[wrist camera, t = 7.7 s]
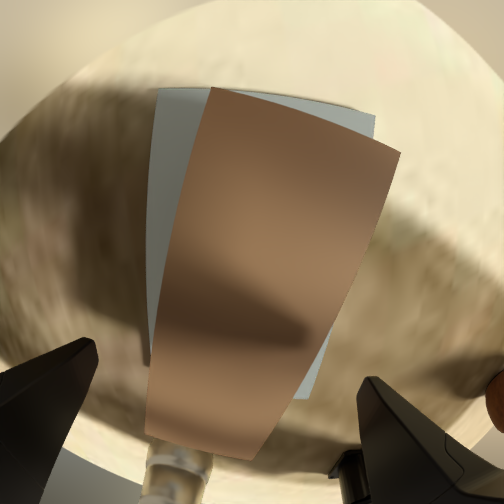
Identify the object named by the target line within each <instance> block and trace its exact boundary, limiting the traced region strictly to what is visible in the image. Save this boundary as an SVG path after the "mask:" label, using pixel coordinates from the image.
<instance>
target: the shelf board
mask: <svg viewBox="0 0 504 504" xmlns="http://www.w3.org/2000/svg"><path fill="white" fill-rule="evenodd" d="M400 154H401V152H399V151H397V150H395V149H393V148H391V147H389V146H387V145H385V144H383V143H380V142H378V141H376V140H374V139H372V138H369V137H367V136H365V135H363V134H360V133H358V132H355V131H353V130H351V129H348V128H346V127H343V126H341V125H338V124H336V123H333V122H330V121H328V120H325V119H322V118H320V117H317V116H314V115H311V114H308V113H306V112H303V111H300V110H297V109H294V108H290V107H287V106H284V105H281V104H278V103H274V102H271V101H267V100H264V99H260V98H257V97H253V96H249V95H245V94H241V93H237V92H233V91H229V90H224V89H220V88H215V87H211V90H210V93H209V96H208V99H207V102H206V105H205V108H204V111H203V115H202V118H201V121H200V124H199V128H198V131H197V134H196V138H195V141H194V145H193V148H192V152H191V155H190V159H189V163H188V166H187V170H186V174H185V178H184V182H183V186H182V190H181V194H180V198H179V202H178V206H177V210H176V215H175V219H174V224H173V228H172V233H171V238H170V242H169V247H168V252H167V257H166V262H165V268H164V273H163V279H162V284H161V290H160V296H159V302H158V308H157V315H156V322H155V328H154V336H153V343H152V351H151V360H150V369H149V378H148V389H147V400H146V413H145V430H144V434H147V435H150V436H153V437H156V438H159V439H162V440H165V441H168V442H171V443H175V444H178V445H182V446H185V447H189V448H193V449H197V450H201V451H205V452H209V453H213V454H218V455H222V456H227V457H233V458H238V459H244V460H250V461H252V460H253V458H254V457H255V455H256V454H257V453H258V451H259V450H260V448H261V447H262V445H263V444H264V442H265V441H266V439H267V438H268V436H269V435H270V433H271V432H272V430H273V429H274V427H275V426H276V424H277V423H278V421H279V419H280V418H281V416H282V415H283V413H284V412H285V410H286V408H287V407H288V405H289V403H290V402H291V400H292V398H293V397H294V395H295V393H296V392H297V390H298V388H299V387H300V385H301V383H302V381H303V380H304V378H305V376H306V374H307V373H308V371H309V369H310V367H311V365H312V364H313V362H314V360H315V358H316V356H317V354H318V353H319V351H320V349H321V347H322V345H323V343H324V341H325V339H326V337H327V335H328V333H329V331H330V329H331V327H332V325H333V323H334V321H335V319H336V317H337V315H338V313H339V311H340V309H341V307H342V305H343V303H344V301H345V298H346V296H347V294H348V292H349V290H350V287H351V285H352V283H353V281H354V279H355V276H356V274H357V272H358V269H359V267H360V265H361V262H362V260H363V258H364V255H365V253H366V250H367V248H368V245H369V243H370V240H371V238H372V235H373V233H374V230H375V228H376V225H377V222H378V220H379V217H380V214H381V211H382V209H383V206H384V203H385V200H386V197H387V194H388V192H389V189H390V186H391V183H392V180H393V176H394V173H395V170H396V167H397V164H398V161H399V157H400Z"/></svg>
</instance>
